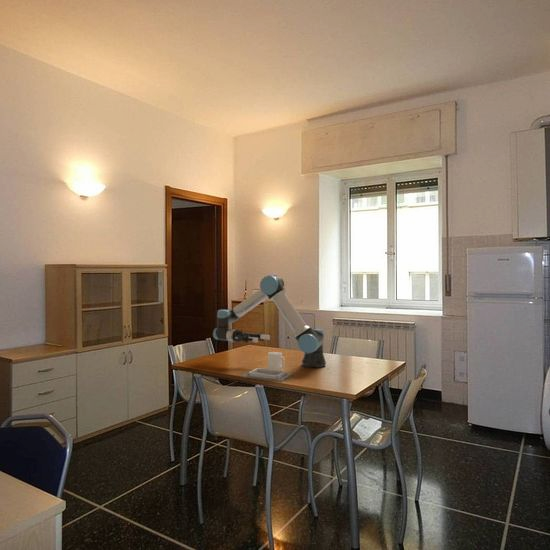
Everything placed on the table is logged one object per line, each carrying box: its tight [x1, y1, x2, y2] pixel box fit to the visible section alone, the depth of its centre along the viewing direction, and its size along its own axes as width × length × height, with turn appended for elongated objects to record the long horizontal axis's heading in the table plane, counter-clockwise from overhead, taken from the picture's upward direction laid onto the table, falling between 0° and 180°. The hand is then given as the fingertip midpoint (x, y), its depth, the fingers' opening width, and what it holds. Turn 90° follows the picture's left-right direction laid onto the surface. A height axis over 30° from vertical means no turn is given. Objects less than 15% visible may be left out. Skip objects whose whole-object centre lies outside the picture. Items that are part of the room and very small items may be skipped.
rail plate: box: [240, 367, 293, 383], centre depth 250 cm, size 24×18×2 cm
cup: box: [267, 351, 286, 370], centre depth 265 cm, size 8×12×10 cm
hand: (263, 338), depth 270 cm, fingers open, 13 cm apart
